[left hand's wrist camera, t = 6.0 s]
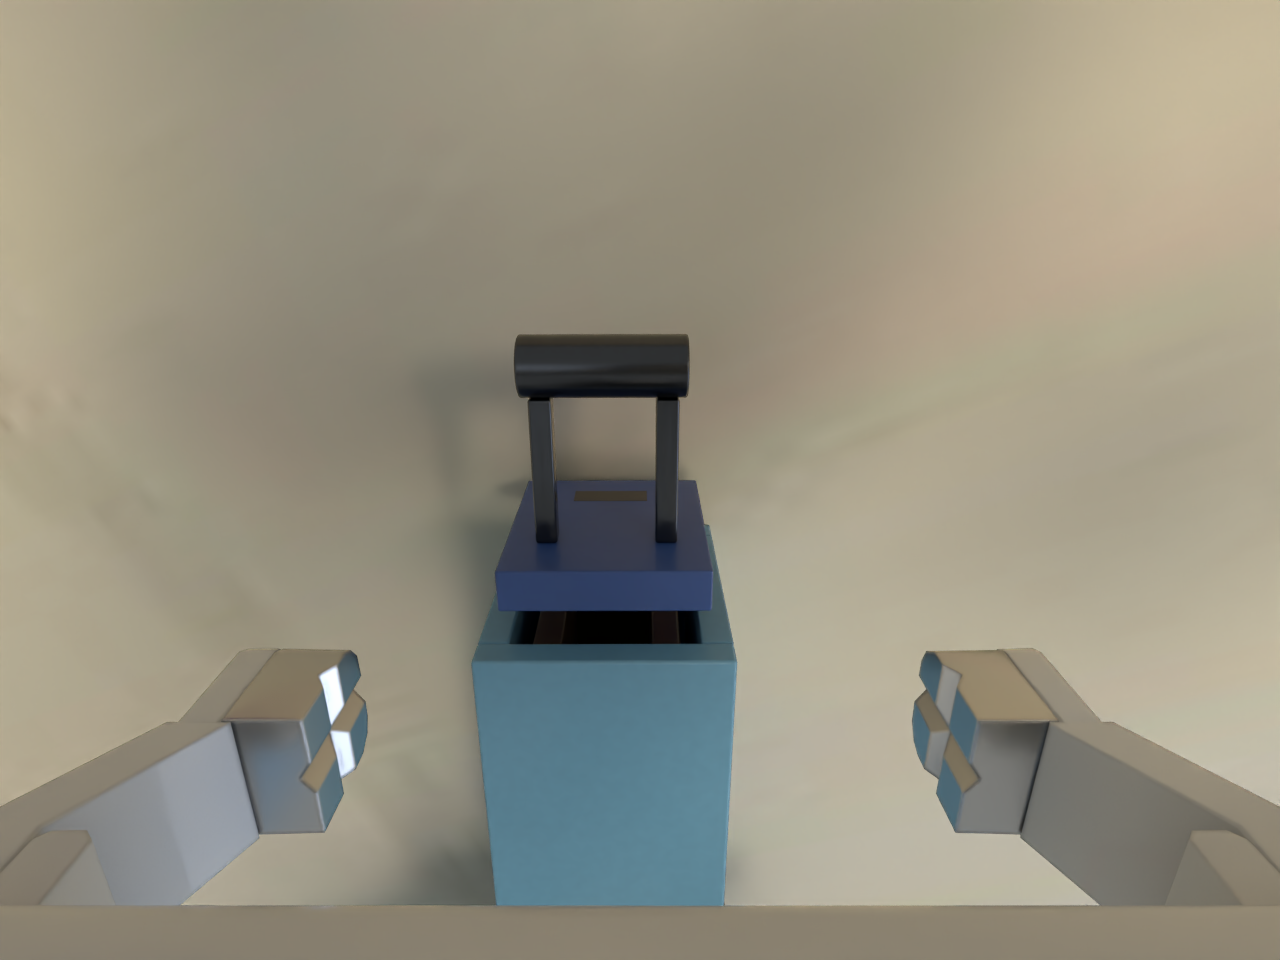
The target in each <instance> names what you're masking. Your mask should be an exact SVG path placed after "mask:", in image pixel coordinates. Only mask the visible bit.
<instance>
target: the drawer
mask: <svg viewBox="0 0 1280 960" xmlns="http://www.w3.org/2000/svg"><path fill="white" fill-rule="evenodd" d="M689 369H690V356H689V338H688V335H687V334H537V335H518V336H517V338H516V342H515V349H514V375H515V384H516V390H517V393H518V396H519V397H520V398H529V400H528V418H529V434H530V451H531V468H532V481H529V482H528V485H527V488H526V490H525V493H524V496H523V498H522V501H521V504H520V507H519V509H518V512H517V515H516V517H515V520H514V523H513V525H512V528H511V531H510V533H509V536H508V539H507V541H506V544H505V547H504V549H503V552H502V555H501V557H500V560H499V563H498V565H497V568H496V571H495V581H496V593H497V605H498V610H499V611H540V616H539V620H538V624H537V628H536V633H535V637H534V641H533V644H681V641H680V630H679V619H678V611H710V610H711V609H712V593H713V568H712V563H711V557H710V552H709V547H708V542H707V537H706V531H705V526H704V521H703V516H702V510H701V505H700V500H699V495H698V490H697V484H696V481H695V480H678V462H679V407H680V401H679V398H686V397H687V396H688V391H689ZM553 398H656V453H655V480H616V481H557V475H556V454H555V432H554V411H553Z"/></svg>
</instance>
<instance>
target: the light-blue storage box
mask: <svg viewBox="0 0 1280 960" xmlns="http://www.w3.org/2000/svg"><path fill="white" fill-rule="evenodd" d="M704 526H705V531H706V537H707V542H708V547H709V552H710V557H711V563H712V568H713V593H712V609H711V610H710V611H678V619H679V630H680V641H681V644H533V641H534V637H535V633H536V628H537V624H538V620H539V616H540V611H499V610H498V605H497V593H496V594H495V597H494V600H493V602H492V605H491V608H490V611H489V614H488V617H487V619H486V622H485V625H484V628H483V631H482V634H481V637H480V639H479V642H478V646H477V648H476V651H475V654H474V657H473V660H472V662H471V666H472V675H473V685H474V695H475V705H476V714H477V724H478V734H479V743H480V753H481V763H482V773H483V782H484V792H485V802H486V812H487V821H488V831H489V841H490V850H491V860H492V870H493V880H494V889H495V899H496V905H626V906H724V891H725V873H726V855H727V837H728V819H729V801H730V782H731V764H732V746H733V728H734V710H735V692H736V674H737V660H736V655H735V650H734V646H733V638H732V634H731V629H730V624H729V619H728V614H727V609H726V604H725V600H724V595H723V590H722V585H721V580H720V575H719V570H718V566H717V561H716V556H715V551H714V546H713V541H712V537H711V532H710V527H709V525H704Z"/></svg>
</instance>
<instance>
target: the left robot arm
mask: <svg viewBox="0 0 1280 960" xmlns="http://www.w3.org/2000/svg"><path fill="white" fill-rule="evenodd" d="M360 676H361V673H360V668H359V664H358V659H357V656H356V655H355V654H354V653H353V652H352V651H351V650H318V649H282V650H281V649H246V650H243V651H240V652H239V653H238V654H237V655H236V656H235V657H234V658H233V659H232V661H231V662H230V663H229V664H228V665H227V666H226V668H225V669H224V670H223V671H222V672H221V673H220V675H219V676H218V677H217V678H216V679H215V680H214V681H213V683H212V684H211V685H210V686H209V687H208V688H207V690H206V691H205V692H204V693H203V694H202V695H201V696H200V698H199V699H198V700H197V701H196V702H195V703H194V705H193V706H192V707H191V708H190V709H189V710H188V711H187V713H186V714H185V715H184V716H183V717H182V718H181V720H180V721H179V722H166V723H164V724H162V725H160V726H158V727H156V728H154V729H152V730H150V731H148V732H146V733H144V734H142V735H141V736H139V737H137V738H135V739H133V740H131V741H129V742H127V743H125V744H123V745H121V746H119V747H117V748H115V749H113V750H111V751H109V752H107V753H105V754H103V755H101V756H99V757H97V758H95V759H93V760H91V761H89V762H87V763H85V764H83V765H81V766H79V767H77V768H75V769H73V770H72V771H70V772H68V773H66V774H64V775H62V776H60V777H58V778H56V779H54V780H52V781H50V782H48V783H46V784H44V785H42V786H40V787H38V788H36V789H34V790H32V791H30V792H28V793H26V794H24V795H22V796H20V797H18V798H16V799H14V800H12V801H10V802H8V803H6V804H4V805H3V806H1V807H0V960H1280V807H1279V806H1277V805H1275V804H1273V803H1271V802H1269V801H1267V800H1265V799H1263V798H1261V797H1259V796H1257V795H1255V794H1253V793H1251V792H1249V791H1248V790H1246V789H1244V788H1242V787H1240V786H1238V785H1236V784H1234V783H1232V782H1230V781H1228V780H1226V779H1224V778H1222V777H1220V776H1218V775H1216V774H1214V773H1212V772H1210V771H1208V770H1206V769H1204V768H1202V767H1200V766H1198V765H1196V764H1194V763H1192V762H1191V761H1189V760H1187V759H1185V758H1183V757H1181V756H1179V755H1177V754H1175V753H1173V752H1171V751H1169V750H1167V749H1165V748H1163V747H1161V746H1159V745H1157V744H1155V743H1153V742H1151V741H1149V740H1147V739H1145V738H1143V737H1141V736H1139V735H1137V734H1135V733H1134V732H1132V731H1130V730H1128V729H1126V728H1124V727H1122V726H1120V725H1118V724H1116V723H1114V722H1101V721H1100V720H1099V718H1098V717H1097V716H1096V715H1095V714H1094V713H1093V711H1092V710H1091V709H1090V708H1089V707H1088V706H1087V705H1086V703H1085V702H1084V701H1083V700H1082V699H1081V698H1080V696H1079V695H1078V694H1077V693H1076V692H1075V691H1074V690H1073V688H1072V687H1071V686H1070V685H1069V684H1068V683H1067V681H1066V680H1065V679H1064V678H1063V677H1062V676H1061V675H1060V673H1059V672H1058V671H1057V670H1056V669H1055V668H1054V666H1053V665H1052V664H1051V663H1050V662H1049V661H1048V660H1047V658H1046V657H1045V656H1044V655H1043V654H1042V653H1041V652H1040V651H1037V650H1035V649H1033V648H1022V649H997V650H967V651H926V653H925V655H924V657H923V659H922V662H921V667H920V673H919V676H920V678H921V680H922V682H923V683H924V685H925V687H926V690H925V691H924V692H923V693H922V694H921V695H920V696H919V697H918V698H917V699H916V700H915V703H914V710H913V718H912V726H913V738H914V743H915V747H916V750H917V754H918V757H919V759H920V761H921V763H922V765H923V767H924V769H925V770H927V771H928V772H929V773H931V774H932V775H934V776H935V777H936V778H938V779H939V781H938V786H937V792H936V794H937V796H938V798H939V800H940V802H941V804H942V806H943V808H944V810H945V812H946V814H947V816H948V818H949V820H950V822H951V824H952V826H953V829H954V831H955V833H988V834H1021V837H1020V838H1022V839H1023V840H1024V841H1025V842H1026V843H1028V844H1029V845H1030V846H1031V847H1032V848H1033V849H1035V850H1036V851H1037V852H1038V853H1039V854H1040V855H1042V856H1043V857H1044V858H1045V859H1046V860H1048V861H1049V862H1050V863H1051V864H1052V865H1053V866H1055V867H1056V868H1057V869H1058V870H1059V871H1061V872H1062V873H1063V874H1064V875H1065V876H1066V877H1068V878H1069V879H1070V880H1071V881H1072V882H1074V883H1075V884H1076V885H1077V886H1078V887H1079V888H1081V889H1082V890H1083V891H1084V892H1085V893H1087V894H1088V895H1089V896H1090V897H1091V898H1092V899H1094V900H1095V901H1096V902H1097V903H1098V904H1099V905H1101V906H626V905H390V906H215V905H181V904H182V903H183V902H184V901H185V900H187V899H188V898H189V897H190V896H191V895H193V894H194V893H195V892H196V891H197V890H198V889H200V888H201V887H202V886H203V885H204V884H206V883H207V882H208V881H209V880H210V879H211V878H213V877H214V876H215V875H216V874H217V873H219V872H220V871H221V870H222V869H223V868H224V867H226V866H227V865H228V864H229V863H230V862H232V861H233V860H234V859H235V858H236V857H237V856H239V855H240V854H241V853H242V852H243V851H245V850H246V849H247V848H248V847H249V846H250V845H252V844H253V843H254V842H255V841H256V840H258V839H259V834H291V833H325V831H326V829H327V827H328V825H329V823H330V821H331V819H332V816H333V814H334V812H335V810H336V808H337V806H338V804H339V802H340V800H341V798H342V796H343V794H344V792H343V786H342V781H341V779H342V778H344V777H345V776H346V775H348V774H349V773H351V772H352V771H353V770H355V769H356V767H357V765H358V763H359V761H360V759H361V756H362V754H363V751H364V746H365V741H366V737H367V721H368V716H367V709H366V702H365V700H364V699H363V698H362V697H361V696H360V695H359V694H358V693H357V692H356V691H355V690H354V687H355V685H356V683H357V682H358V680H359V678H360Z"/></svg>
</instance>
